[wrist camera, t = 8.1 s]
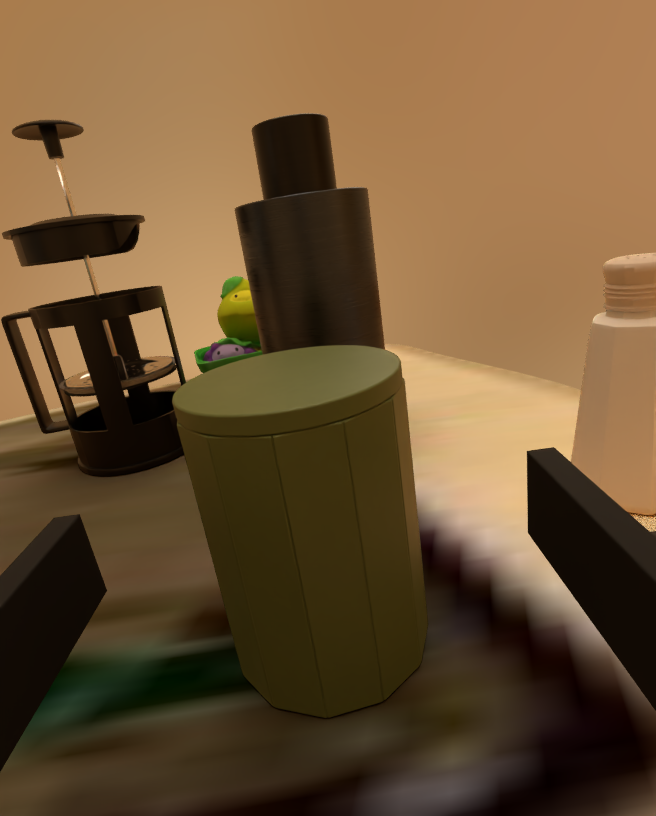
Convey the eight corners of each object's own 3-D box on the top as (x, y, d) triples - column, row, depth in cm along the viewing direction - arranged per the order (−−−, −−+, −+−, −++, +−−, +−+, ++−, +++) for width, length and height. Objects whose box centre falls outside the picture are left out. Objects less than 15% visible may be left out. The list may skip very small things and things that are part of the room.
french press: (211, 415, 44) (142, 131, 37) (209, 456, 36) (118, 93, 28) (75, 443, 43) (-27, 150, 35) (37, 493, 34) (-109, 116, 26)
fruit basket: (209, 418, 44) (178, 290, 40) (204, 393, 52) (178, 285, 48) (330, 390, 46) (312, 267, 43) (307, 371, 54) (290, 266, 51)
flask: (288, 479, 30) (217, 113, 24) (275, 434, 38) (219, 147, 31) (412, 451, 31) (378, 95, 25) (375, 413, 39) (342, 131, 32)
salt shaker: (713, 482, 24) (745, 243, 20) (662, 531, 21) (688, 263, 17) (599, 452, 28) (607, 251, 24) (543, 489, 25) (544, 269, 21)
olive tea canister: (244, 745, 15) (157, 436, 11) (237, 593, 21) (181, 369, 18) (461, 680, 16) (439, 379, 12) (391, 554, 22) (364, 335, 19)
